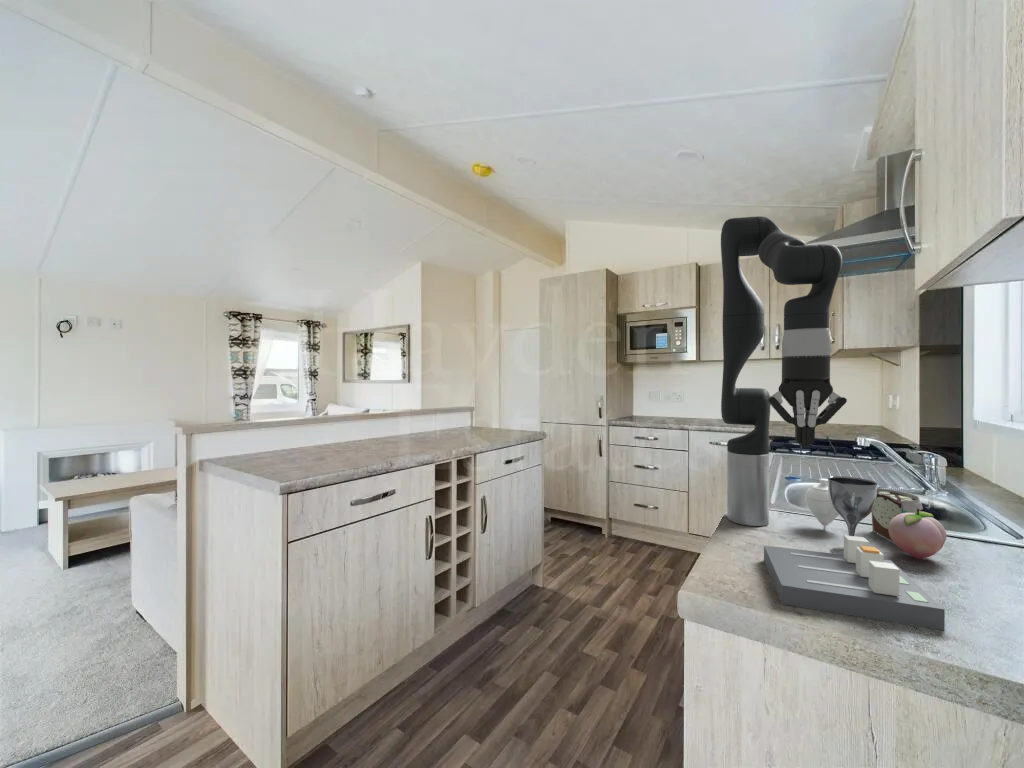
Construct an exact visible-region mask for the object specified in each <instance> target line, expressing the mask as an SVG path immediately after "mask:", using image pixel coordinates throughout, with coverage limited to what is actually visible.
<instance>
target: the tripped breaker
mask: <svg viewBox="0 0 1024 768" xmlns="http://www.w3.org/2000/svg"><path fill="white" fill-rule="evenodd" d="M884 556H885V555H884V554H883V553H882V551H880V550H879V549H877V548H876V547H875V546H870V545H869V546H860V547H856V571H857V572H858V574H859V575H860V576H862V577H869V561H877V562H884V560H885V557H884Z"/></svg>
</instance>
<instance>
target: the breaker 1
mask: <svg viewBox="0 0 1024 768" xmlns="http://www.w3.org/2000/svg"><path fill="white" fill-rule="evenodd" d="M860 546H869V547H870V541H868V540H867V539H866V538H865V537H863V536H856V535H854V536H849V535H845V534H844V535H843V547H844V558H845V559H846V560H847V561H848V562H851V563H856V547H860Z"/></svg>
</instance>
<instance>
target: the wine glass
mask: <svg viewBox="0 0 1024 768" xmlns="http://www.w3.org/2000/svg"><path fill="white" fill-rule="evenodd" d="M827 479H828V493H829V498H830V502H831V504H832V506H833V508H834V509H835V510H836V511H837V512H838V513H839V516H840V517H841V518H842V519H843V521H844V522H845V524H846V526H847V530H848V536H856V535H855V533H856V530H857V529H856V528H857V526H858V525H859V523H860V522H861V521H863V520H864V519H865V518H867V517H868V516H869V515H870V514H872V511H873V509H874V506H875V503H876V498H877V488H878V483H877V482H876V481H874V480H870V479H867V478H866V479H865V478H862V477H855V476H854V477H853V476H842V475H841V476H840V475H839V476H838V475H837V476H836V475H835V476H834V475H833V476H829V477H827ZM829 553H832V554H841V555H844V546H843V547H842V546H841V547H840V546H839V547H838V546H837V547H835V546H834V547H832V548H829Z"/></svg>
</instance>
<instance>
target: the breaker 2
mask: <svg viewBox="0 0 1024 768" xmlns="http://www.w3.org/2000/svg"><path fill="white" fill-rule="evenodd" d="M893 563H894V562H893ZM893 563H885V562H877V561H869V587H870V588H871V589H872V590H873V592H874V593H879V594H886V595H893V596H899V573H900V570H899V569H898V568H897V567H898V566H897V565H896V564H895V563H894V564H895V565H896V566H897V567H896V566H895V565H894V564H893Z"/></svg>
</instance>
